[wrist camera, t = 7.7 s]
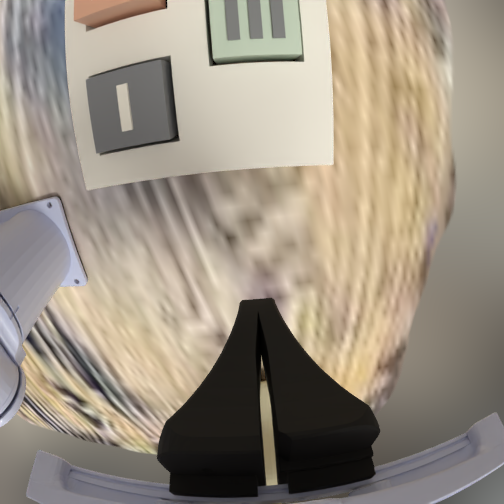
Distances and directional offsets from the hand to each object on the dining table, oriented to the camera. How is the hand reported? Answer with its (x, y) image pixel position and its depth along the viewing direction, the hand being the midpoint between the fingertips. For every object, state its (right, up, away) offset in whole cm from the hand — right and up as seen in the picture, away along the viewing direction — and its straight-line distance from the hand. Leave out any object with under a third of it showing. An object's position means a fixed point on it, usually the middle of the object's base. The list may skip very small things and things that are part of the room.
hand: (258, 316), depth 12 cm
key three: (0, +16, +1) cm, 16 cm away
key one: (-7, +12, +3) cm, 14 cm away
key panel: (-4, +16, +2) cm, 16 cm away
